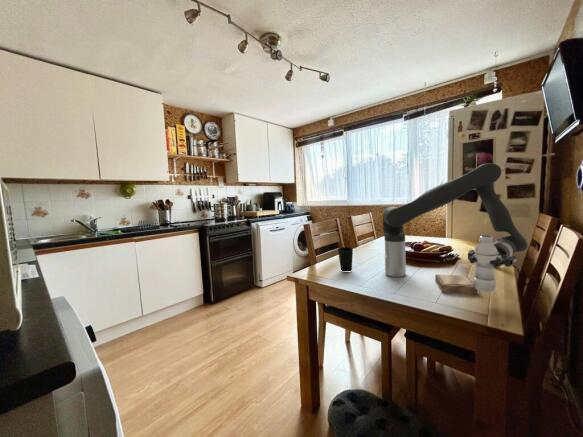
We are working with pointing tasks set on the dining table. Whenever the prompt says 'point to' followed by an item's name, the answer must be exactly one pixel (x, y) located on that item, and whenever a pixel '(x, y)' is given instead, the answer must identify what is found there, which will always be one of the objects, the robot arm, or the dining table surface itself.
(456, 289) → the plinth
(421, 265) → the dining table surface
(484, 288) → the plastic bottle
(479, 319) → the dining table surface
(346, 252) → the cup
